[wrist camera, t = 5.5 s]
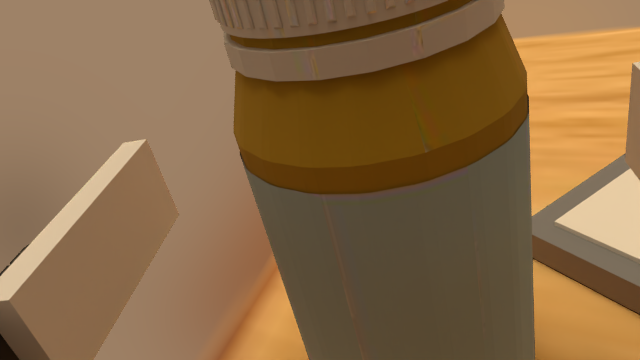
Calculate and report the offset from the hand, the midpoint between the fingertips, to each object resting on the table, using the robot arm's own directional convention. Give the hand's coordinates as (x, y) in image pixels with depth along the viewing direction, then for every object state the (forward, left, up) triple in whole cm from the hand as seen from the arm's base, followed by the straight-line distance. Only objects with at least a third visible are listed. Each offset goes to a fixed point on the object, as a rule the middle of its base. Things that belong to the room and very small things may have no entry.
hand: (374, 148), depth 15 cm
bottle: (0, +1, -9) cm, 9 cm away
